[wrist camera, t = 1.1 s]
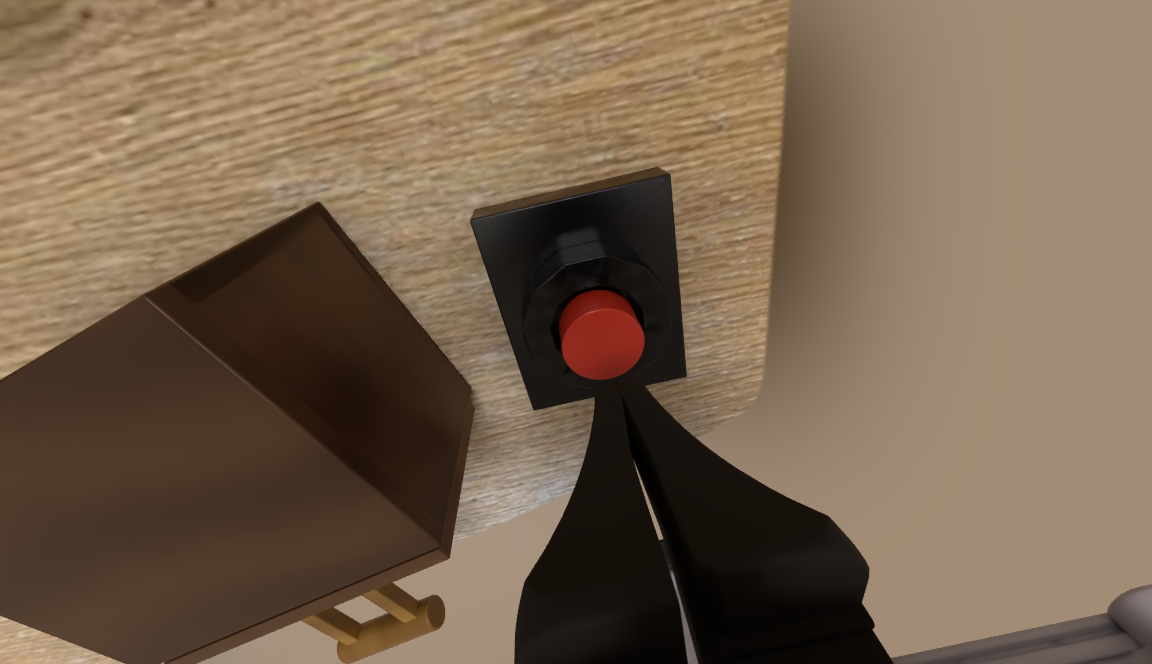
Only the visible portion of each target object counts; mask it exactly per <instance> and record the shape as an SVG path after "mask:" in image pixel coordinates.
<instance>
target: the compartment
mask: <svg viewBox="0 0 1152 664" xmlns="http://www.w3.org/2000/svg"><path fill="white" fill-rule="evenodd" d="M470 392H471V387H470V386H469V385H468V383H467V382H466V381H465V380H464V379H463V377H462V376H461V375H460V374H459V372H458V371H457V370H456V369H455V368H454V366H453V365H452V364H451V363H450V361H449V360H448V359H447V358H446V357H445V355H444V354H443V353H442V352H441V350H440V349H439V348H438V347H437V346H436V344H435V343H434V342H433V341H432V340H431V338H430V337H429V336H428V335H427V333H426V332H425V331H424V330H423V329H422V327H421V326H420V325H419V324H418V322H417V321H416V320H415V319H414V318H413V316H412V315H411V314H410V313H409V311H408V310H407V309H406V308H405V307H404V305H403V304H402V303H401V302H400V300H399V299H398V298H397V297H396V296H395V294H394V293H393V292H392V291H391V290H390V288H389V287H388V286H387V285H386V283H385V282H384V281H383V280H382V279H381V277H380V276H379V275H378V274H377V272H376V271H375V270H374V269H373V268H372V266H371V265H370V264H369V263H368V261H367V260H366V259H365V258H364V257H363V255H362V254H361V253H360V252H359V250H358V249H357V248H356V247H355V246H354V244H353V243H352V242H351V241H350V240H349V238H348V237H347V236H346V235H345V233H344V232H343V231H342V230H341V229H340V227H339V226H338V225H337V224H336V222H335V221H334V220H333V219H332V218H331V216H330V215H329V214H328V213H327V211H326V210H325V209H324V208H323V207H322V205H321V204H320V203H319V202H316V203H314V204H312V205H310V206H309V207H307V208H305V209H303V210H301V211H299V212H297V213H295V214H293V215H292V216H290V217H288V218H286V219H284V220H282V221H280V222H278V223H277V224H275V225H273V226H271V227H269V228H267V229H265V230H263V231H261V232H260V233H258V234H256V235H254V236H252V237H250V238H248V239H246V240H245V241H243V242H241V243H239V244H237V245H235V246H233V247H231V248H230V249H228V250H226V251H224V252H222V253H220V254H218V255H216V256H214V257H213V258H211V259H209V260H207V261H205V262H203V263H201V264H199V265H198V266H196V267H194V268H192V269H190V270H188V271H186V272H184V273H183V274H181V275H179V276H177V277H175V278H173V279H171V280H169V281H167V282H166V283H164V284H162V285H160V286H158V287H156V288H154V289H152V290H151V291H149V292H147V293H145V294H143V295H141V296H140V297H138V298H136V299H135V300H133V301H131V302H130V303H128V304H126V305H125V306H123V307H121V308H120V309H118V310H116V311H115V312H113V313H111V314H110V315H108V316H106V317H105V318H103V319H101V320H100V321H98V322H96V323H95V324H93V325H91V326H90V327H88V328H86V329H85V330H83V331H81V332H80V333H78V334H76V335H75V336H73V337H71V338H70V339H68V340H66V341H65V342H63V343H61V344H60V345H58V346H56V347H55V348H53V349H51V350H50V351H48V352H46V353H45V354H43V355H41V356H40V357H38V358H36V359H35V360H33V361H31V362H30V363H28V364H26V365H25V366H23V367H21V368H20V369H18V370H16V371H15V372H13V373H11V374H10V375H8V376H6V377H5V378H3V379H1V380H0V616H3V617H5V618H8V619H10V620H13V621H16V622H18V623H21V624H23V625H26V626H29V627H31V628H34V629H37V630H39V631H42V632H44V633H47V634H50V635H52V636H55V637H57V638H60V639H63V640H65V641H68V642H70V643H73V644H76V645H78V646H81V647H83V648H86V649H89V650H91V651H94V652H97V653H99V654H102V655H104V656H107V657H110V658H112V659H115V660H117V661H120V662H123V663H125V664H161V663H164V662H166V661H169V660H171V659H173V658H176V657H178V656H180V655H183V654H185V653H188V652H190V651H192V650H195V649H197V648H199V647H202V646H204V645H207V644H209V643H211V642H214V641H216V640H218V639H221V638H223V637H226V636H228V635H230V634H233V633H235V632H237V631H240V630H242V629H245V628H247V627H249V626H252V625H254V624H256V623H259V622H261V621H264V620H266V619H268V618H271V617H273V616H275V615H278V614H280V613H283V612H285V611H287V610H290V609H292V608H294V607H297V606H299V605H302V604H304V603H306V602H309V601H311V600H313V599H316V598H318V597H321V596H323V595H325V594H328V593H330V592H332V591H335V590H337V589H340V588H342V587H344V586H347V585H349V584H351V583H354V582H356V581H359V580H361V579H363V578H366V577H368V576H370V575H373V574H375V573H378V572H380V571H382V570H385V569H387V568H389V567H392V566H394V565H397V564H399V563H401V562H404V561H406V560H408V559H411V558H413V557H416V556H418V555H420V554H423V553H425V552H427V551H430V550H432V549H435V548H437V547H439V546H441V543H442V538H443V533H444V527H445V522H446V517H447V511H448V506H449V501H450V496H451V490H452V485H453V480H454V475H455V470H456V464H457V459H458V454H459V449H460V443H461V438H462V433H463V428H464V423H465V417H466V412H467V407H468V402H469V397H470Z"/></svg>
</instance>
